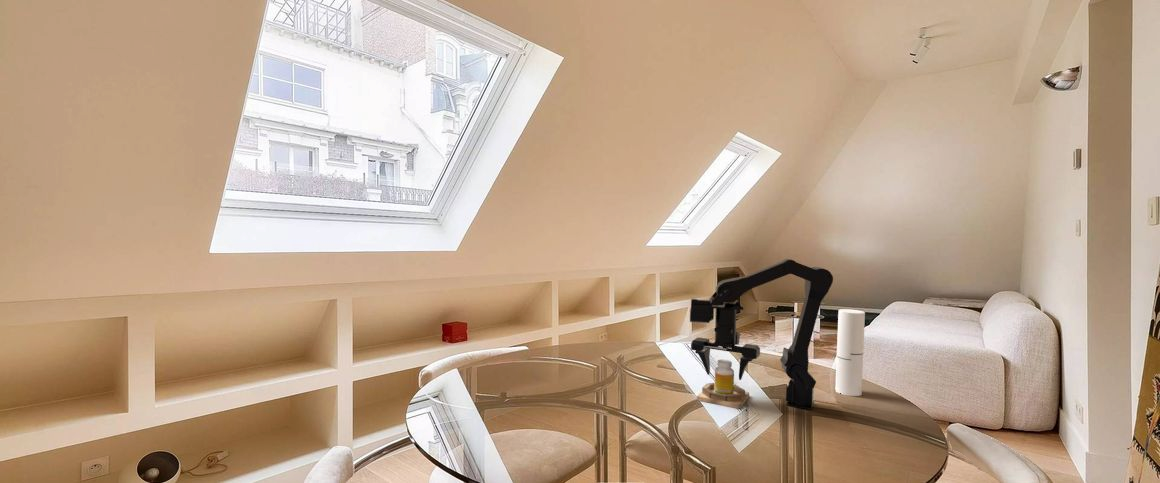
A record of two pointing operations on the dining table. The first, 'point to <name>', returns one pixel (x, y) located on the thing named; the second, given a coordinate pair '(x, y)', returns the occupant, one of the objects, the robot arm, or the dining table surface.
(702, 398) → the hub plate
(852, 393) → the cylindrical container
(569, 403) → the dining table surface
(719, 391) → the supplement bottle
